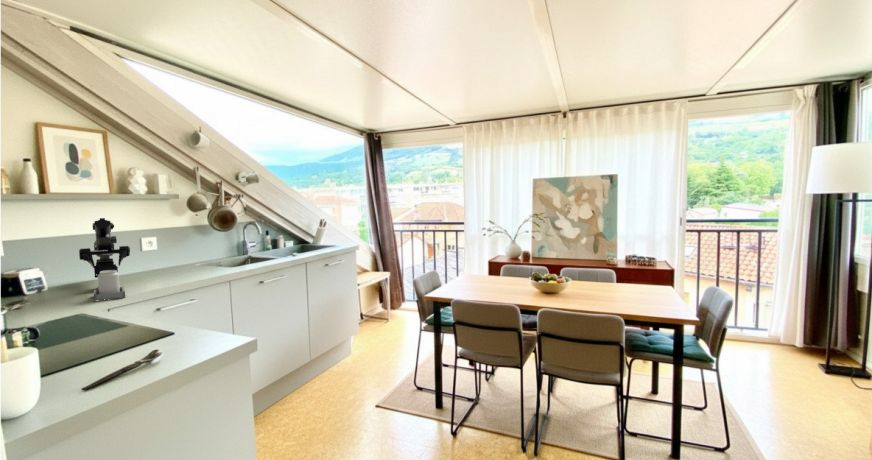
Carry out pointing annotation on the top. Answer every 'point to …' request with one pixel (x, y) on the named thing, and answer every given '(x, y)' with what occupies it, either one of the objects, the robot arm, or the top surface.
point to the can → (108, 282)
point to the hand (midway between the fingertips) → (106, 266)
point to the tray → (109, 295)
